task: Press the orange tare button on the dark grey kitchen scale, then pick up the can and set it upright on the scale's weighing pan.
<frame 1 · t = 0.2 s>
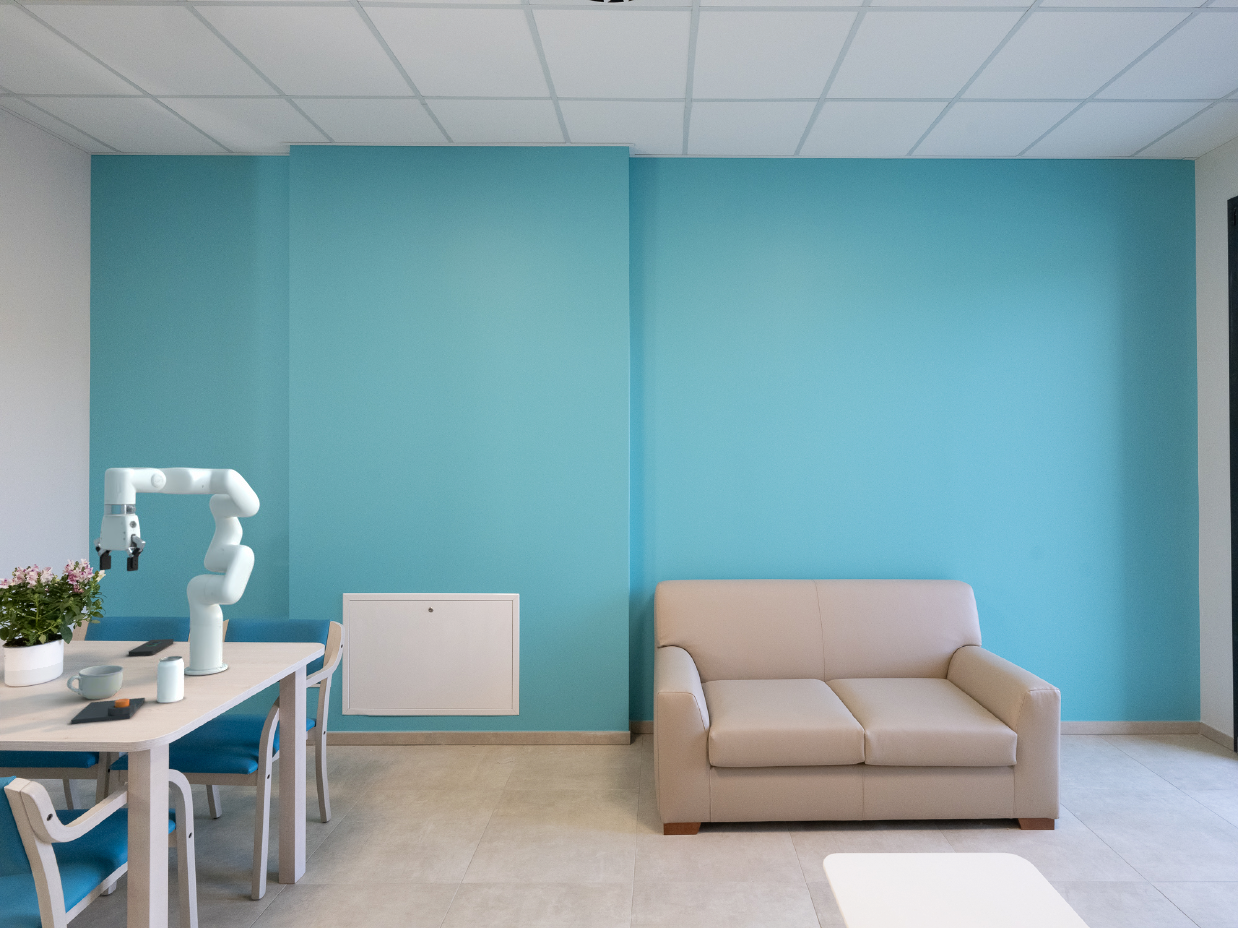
hand: (118, 570, 214), 37 cm above the table, tool pointing down, fingers open, 9 cm apart
can: (170, 700, 213), on the table
tare button: (122, 703, 199), point 3 cm above the table, slide at 0.1 cm
smart home device: (151, 649, 275), on the table
teacup: (94, 698, 215), on the table
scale: (109, 712, 202), on the table
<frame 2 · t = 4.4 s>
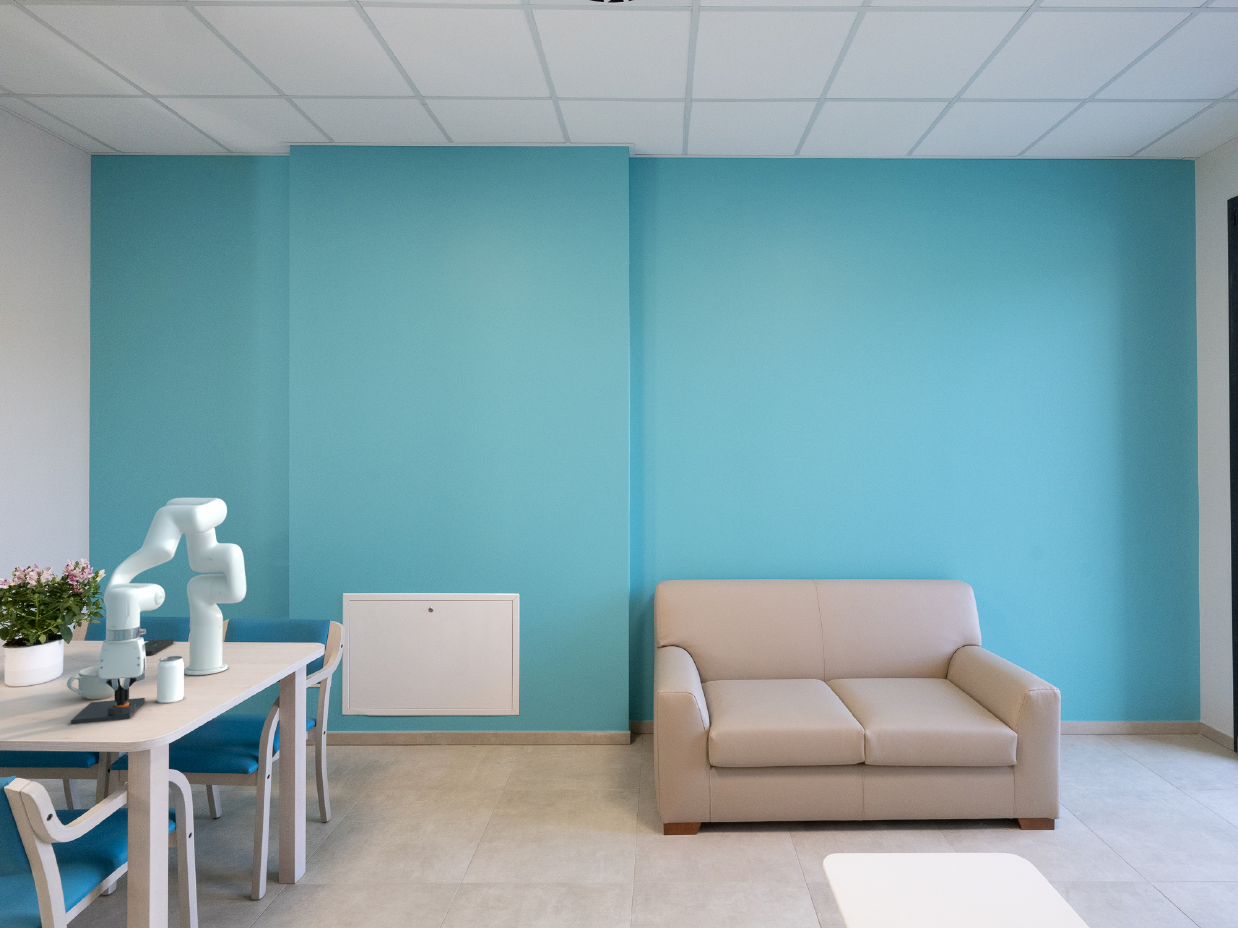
hand: (121, 703, 199), 4 cm above the table, tool pointing down, fingers closed
tare button: (122, 706, 199), point 3 cm above the table, slide at -0.8 cm, touching gripper
everything else where it was.
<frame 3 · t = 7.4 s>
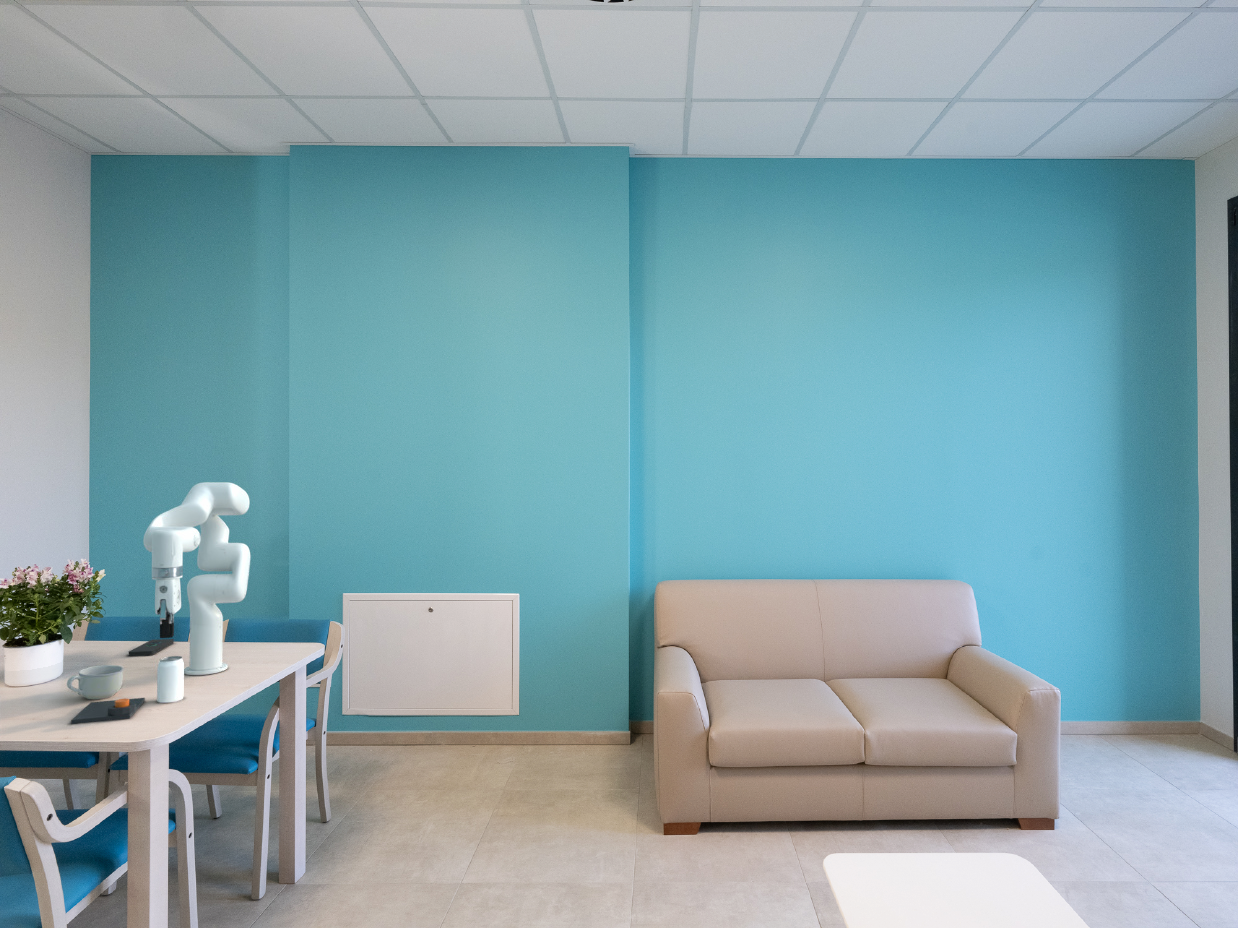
hand: (166, 637, 212), 18 cm above the table, tool pointing down, fingers closed
tare button: (122, 703, 199), point 3 cm above the table, slide at 0.1 cm
everything else where it was.
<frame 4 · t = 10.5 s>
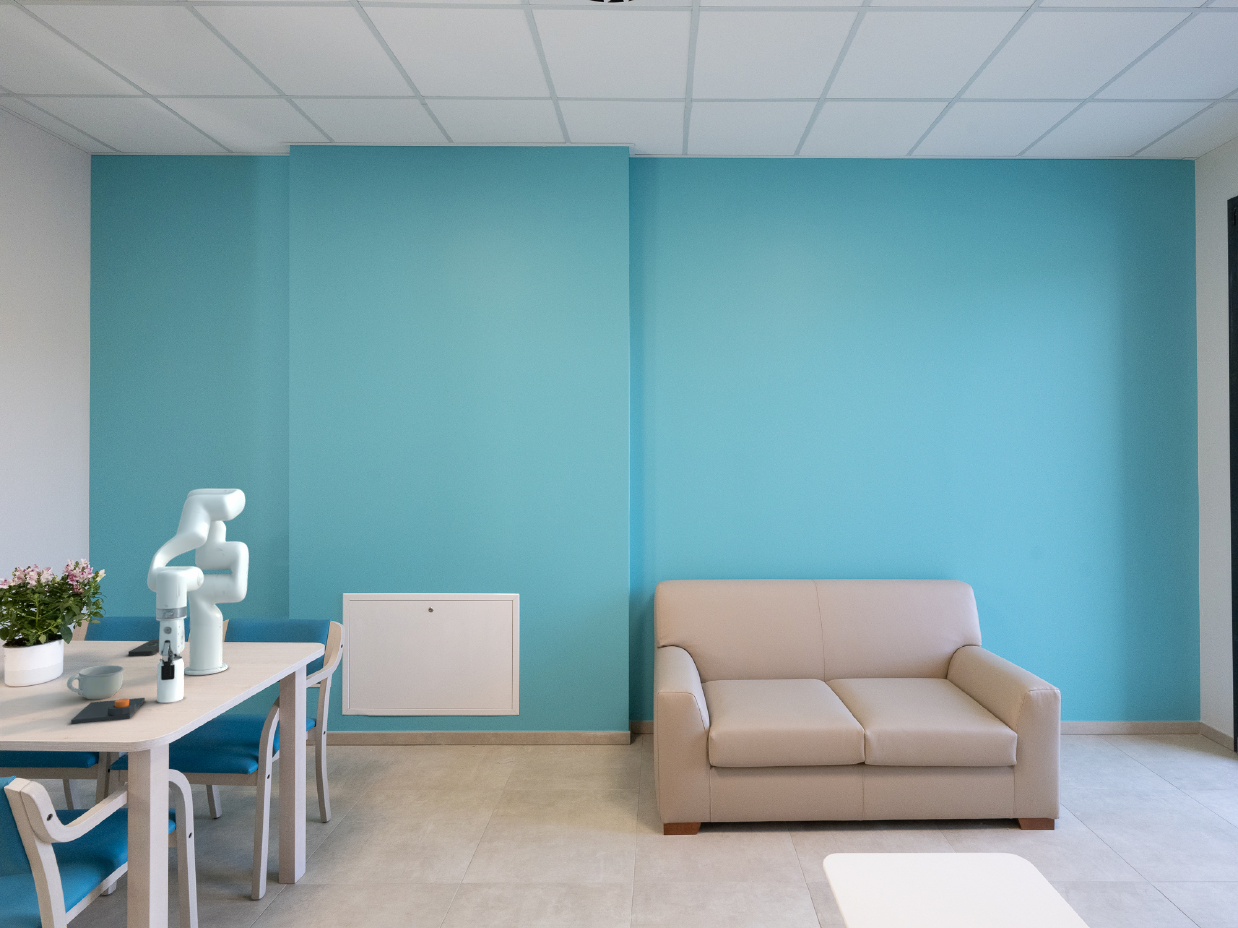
hand: (170, 675, 213), 7 cm above the table, tool pointing down, fingers closed on can, 6 cm apart
can: (170, 700, 213), on the table, touching gripper
everything else where it was.
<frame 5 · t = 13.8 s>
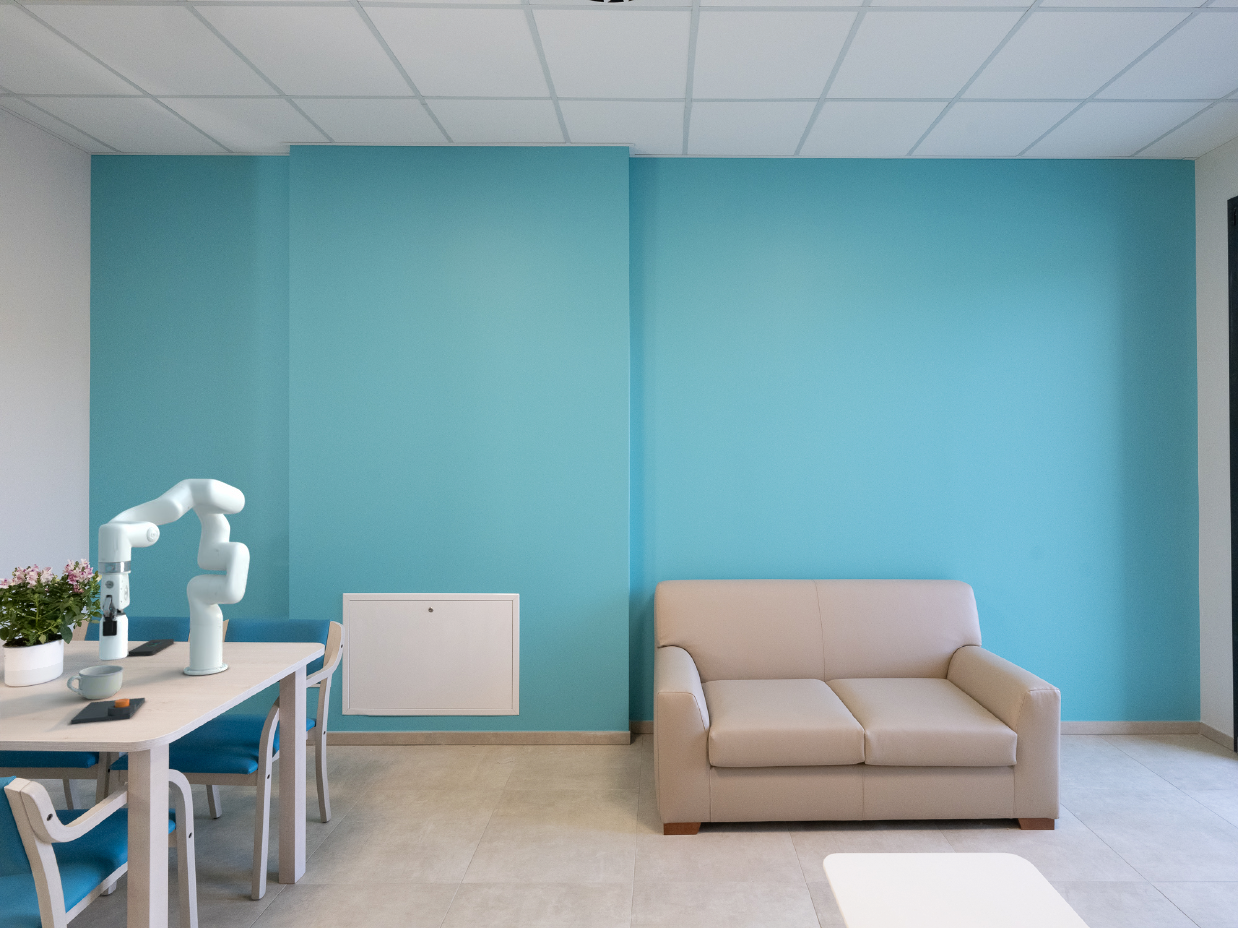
hand: (113, 632, 205), 21 cm above the table, tool pointing down, fingers closed on can, 6 cm apart
can: (113, 658, 205), point 14 cm above the table, touching gripper
everything else where it was.
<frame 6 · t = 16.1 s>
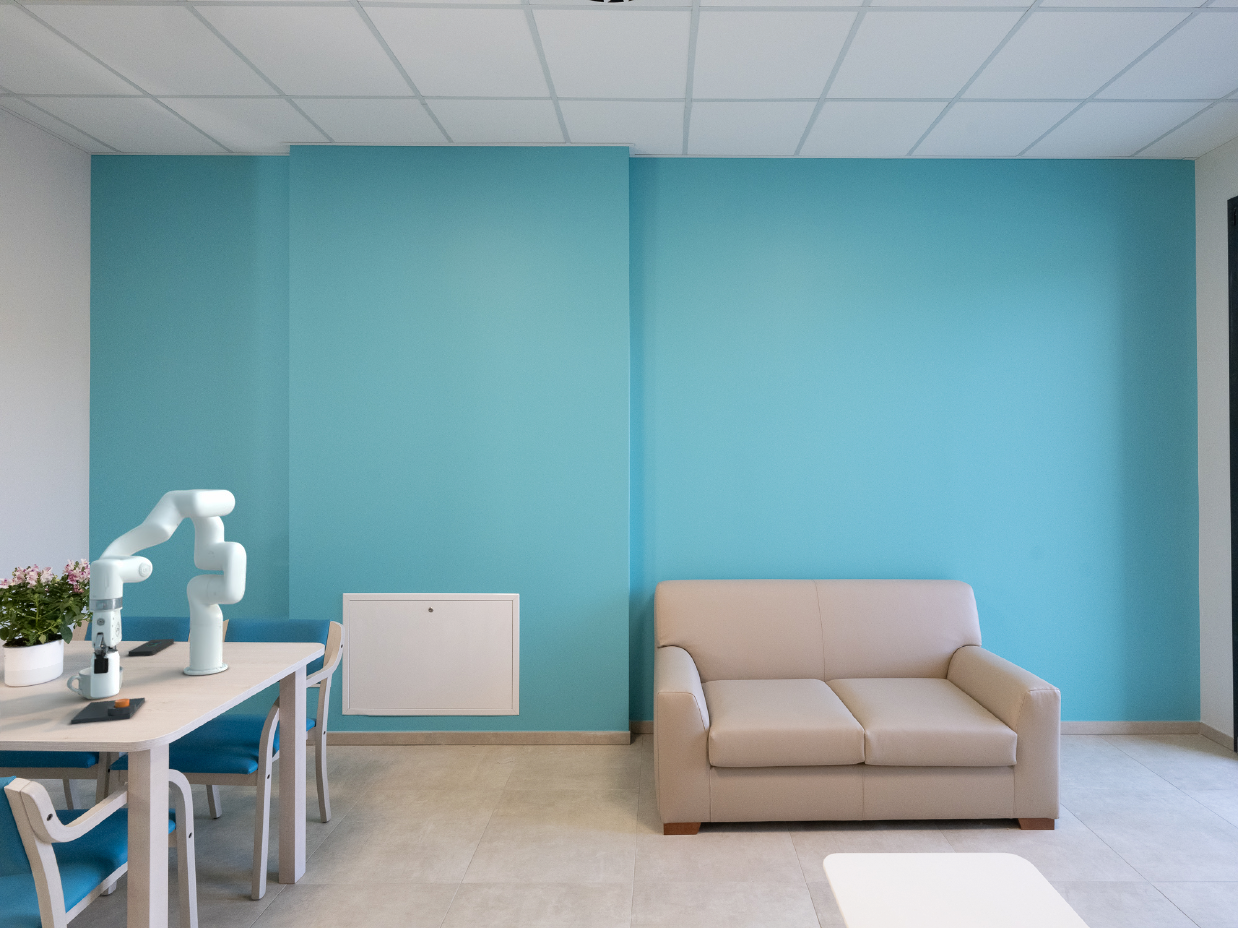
hand: (105, 669, 204), 11 cm above the table, tool pointing down, fingers closed on can, 6 cm apart
can: (104, 695, 204), point 4 cm above the table, touching gripper
everything else where it was.
when the fingers open (8 cm above the table, at t = 17.5 s): can stays where it is, resting on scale.
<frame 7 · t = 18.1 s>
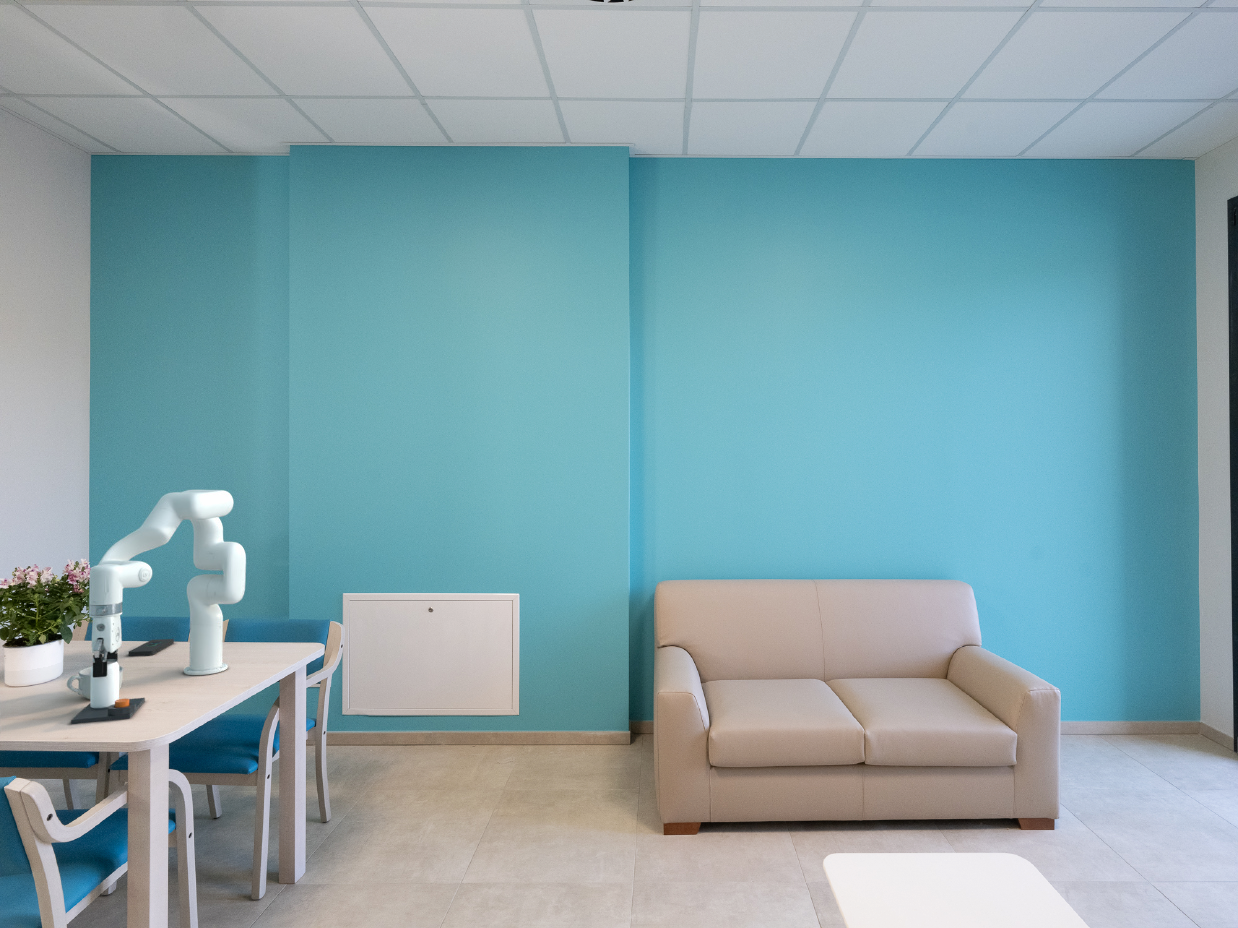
hand: (105, 672, 204), 10 cm above the table, tool pointing down, fingers open, 9 cm apart
can: (104, 706, 204), point 1 cm above the table, touching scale
everything else where it was.
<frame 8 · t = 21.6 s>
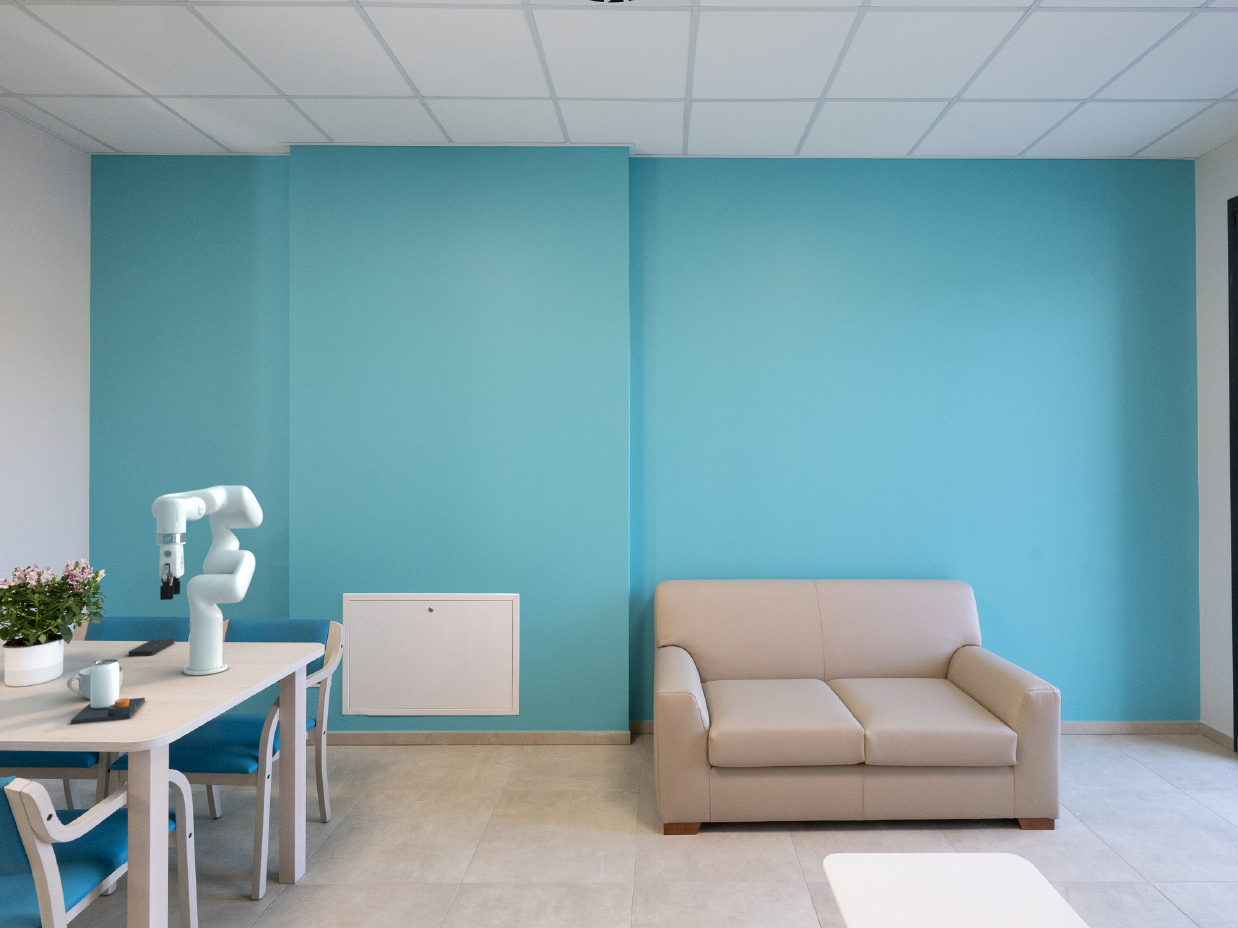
hand: (170, 596, 221), 28 cm above the table, tool pointing down, fingers open, 9 cm apart
nothing on the table moved.
at the end: tare button pushed in 1.1 cm at the most during the clip and back out by the end; can inside the target area on the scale (3.7 cm from its centre), point 1.0 cm above the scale's base; can touching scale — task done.
